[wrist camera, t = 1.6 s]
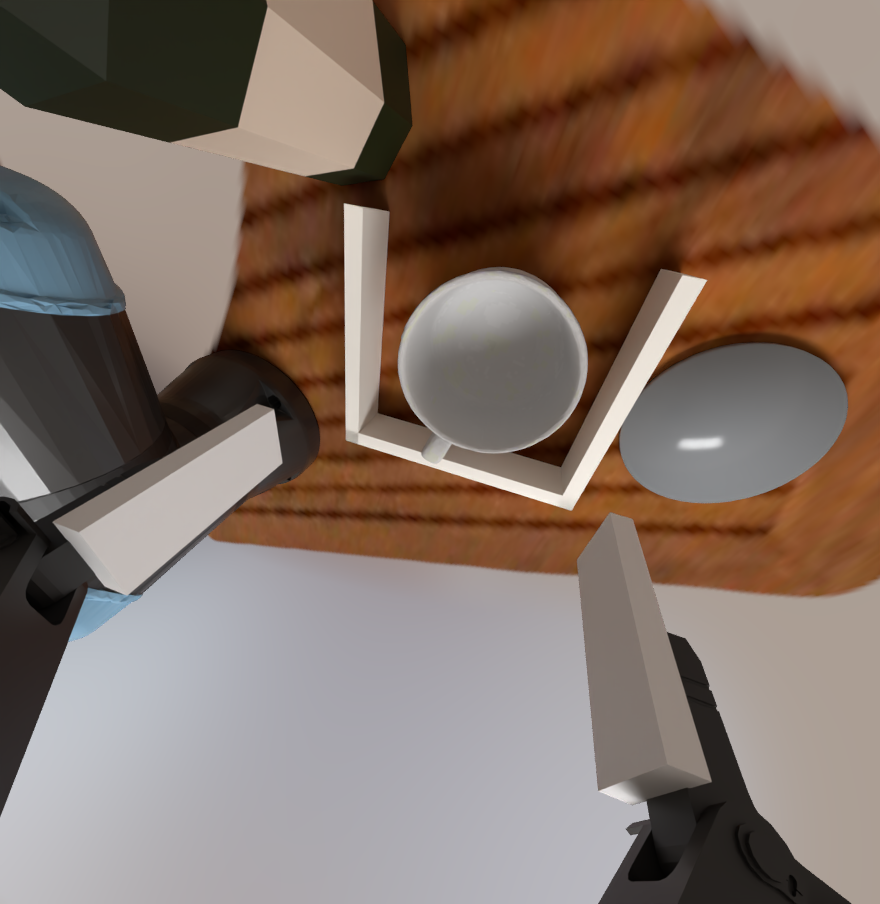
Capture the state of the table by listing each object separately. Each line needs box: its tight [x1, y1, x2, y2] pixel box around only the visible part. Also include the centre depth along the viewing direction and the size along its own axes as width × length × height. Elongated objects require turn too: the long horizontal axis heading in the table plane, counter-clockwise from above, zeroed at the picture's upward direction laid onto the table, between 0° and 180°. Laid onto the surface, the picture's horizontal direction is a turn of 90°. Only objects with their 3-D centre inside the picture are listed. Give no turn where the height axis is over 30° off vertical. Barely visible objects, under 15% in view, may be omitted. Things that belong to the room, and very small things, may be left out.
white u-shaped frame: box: [344, 203, 707, 511], centre depth 24 cm, size 20×17×4 cm
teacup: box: [398, 267, 588, 464], centre depth 22 cm, size 14×11×8 cm
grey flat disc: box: [619, 342, 848, 503], centre depth 24 cm, size 13×13×1 cm
